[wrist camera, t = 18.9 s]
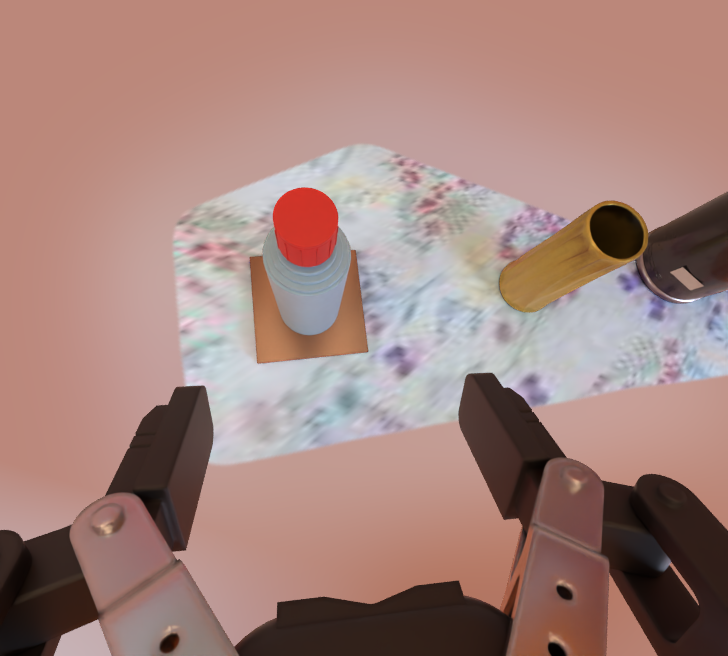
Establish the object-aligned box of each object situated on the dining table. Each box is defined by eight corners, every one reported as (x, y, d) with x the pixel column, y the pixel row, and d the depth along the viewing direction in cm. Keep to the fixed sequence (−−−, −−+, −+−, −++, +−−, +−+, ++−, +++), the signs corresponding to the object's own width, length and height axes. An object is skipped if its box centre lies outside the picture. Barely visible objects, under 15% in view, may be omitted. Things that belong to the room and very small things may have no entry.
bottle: (335, 276, 42) (352, 169, 24) (341, 332, 41) (364, 266, 23) (277, 280, 41) (247, 173, 23) (281, 338, 40) (255, 274, 22)
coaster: (355, 251, 44) (355, 249, 43) (367, 352, 41) (368, 351, 41) (250, 258, 42) (249, 256, 42) (257, 363, 40) (257, 363, 39)
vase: (560, 288, 46) (668, 233, 32) (527, 324, 44) (624, 283, 30) (521, 250, 46) (611, 180, 32) (487, 284, 45) (565, 226, 31)
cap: (332, 212, 26) (334, 185, 23) (338, 265, 25) (341, 245, 22) (275, 215, 26) (270, 188, 22) (280, 269, 25) (275, 249, 22)
